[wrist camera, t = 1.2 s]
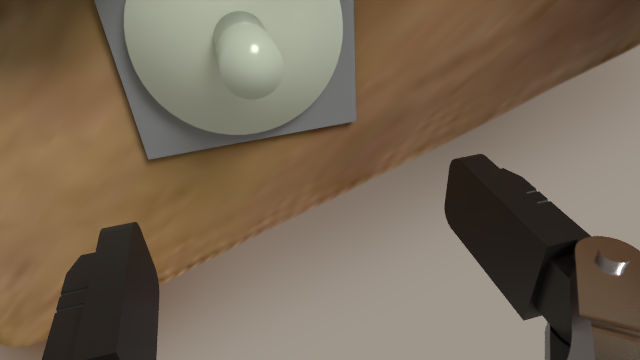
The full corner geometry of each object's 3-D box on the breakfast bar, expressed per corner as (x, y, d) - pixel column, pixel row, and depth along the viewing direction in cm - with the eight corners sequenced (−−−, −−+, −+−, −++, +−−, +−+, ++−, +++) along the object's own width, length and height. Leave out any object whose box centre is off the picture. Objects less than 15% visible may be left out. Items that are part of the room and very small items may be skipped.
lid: (332, -98, 23) (373, -92, 18) (341, 110, 30) (373, 153, 25) (91, -75, 21) (66, -61, 16) (160, 143, 28) (156, 197, 23)
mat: (347, -122, 23) (350, -123, 23) (353, 117, 31) (356, 121, 31) (63, -98, 21) (60, -98, 20) (148, 154, 29) (148, 159, 28)
